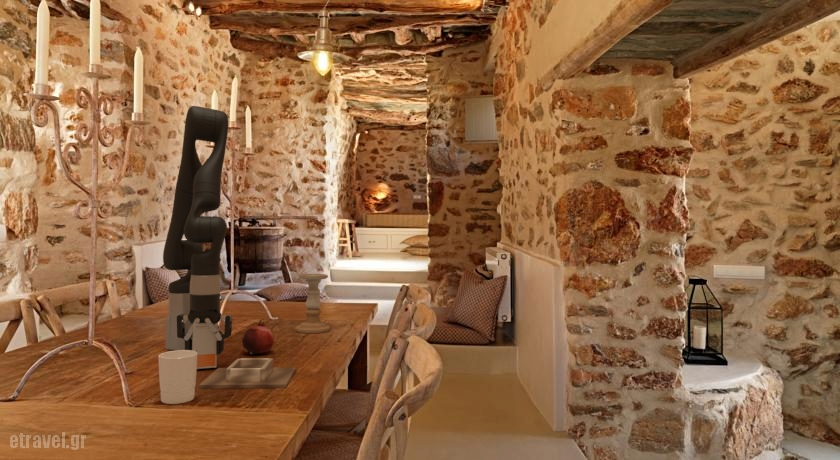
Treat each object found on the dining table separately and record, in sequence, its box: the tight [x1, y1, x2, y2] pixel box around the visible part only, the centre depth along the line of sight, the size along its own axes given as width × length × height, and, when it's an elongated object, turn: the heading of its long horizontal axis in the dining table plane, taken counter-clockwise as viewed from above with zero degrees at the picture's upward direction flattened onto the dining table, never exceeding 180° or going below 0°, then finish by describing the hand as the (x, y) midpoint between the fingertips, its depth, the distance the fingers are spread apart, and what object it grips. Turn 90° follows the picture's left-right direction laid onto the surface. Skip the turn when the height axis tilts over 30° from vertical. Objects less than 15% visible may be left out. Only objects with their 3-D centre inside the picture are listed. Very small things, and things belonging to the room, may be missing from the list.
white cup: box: [157, 350, 198, 405], centre depth 124 cm, size 8×8×10 cm
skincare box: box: [192, 322, 219, 370], centre depth 149 cm, size 6×4×12 cm
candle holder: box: [295, 273, 331, 334], centre depth 205 cm, size 12×12×20 cm
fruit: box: [241, 320, 275, 356], centre depth 168 cm, size 9×10×10 cm
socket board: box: [198, 357, 297, 390], centre depth 140 cm, size 20×16×4 cm
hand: (204, 353), depth 149 cm, fingers closed on skincare box, 7 cm apart
